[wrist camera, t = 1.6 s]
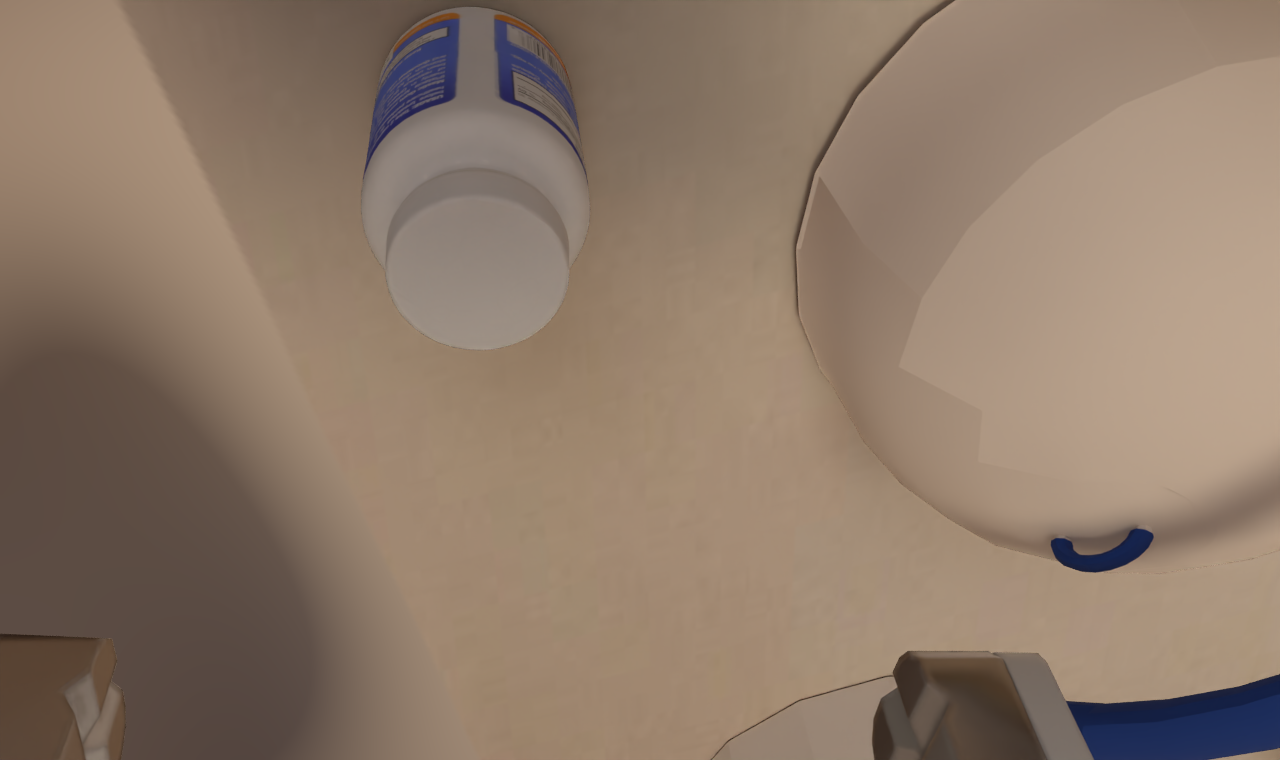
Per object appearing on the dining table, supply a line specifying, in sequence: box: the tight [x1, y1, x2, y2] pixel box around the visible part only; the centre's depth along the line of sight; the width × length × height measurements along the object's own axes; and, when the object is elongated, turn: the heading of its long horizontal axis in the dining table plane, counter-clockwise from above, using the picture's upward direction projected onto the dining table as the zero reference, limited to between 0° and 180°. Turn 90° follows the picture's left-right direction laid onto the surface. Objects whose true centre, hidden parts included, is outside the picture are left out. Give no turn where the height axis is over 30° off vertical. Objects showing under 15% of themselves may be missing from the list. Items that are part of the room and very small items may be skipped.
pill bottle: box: [361, 7, 590, 350], centre depth 28 cm, size 5×5×10 cm
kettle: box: [796, 0, 1280, 760], centre depth 30 cm, size 20×21×18 cm
